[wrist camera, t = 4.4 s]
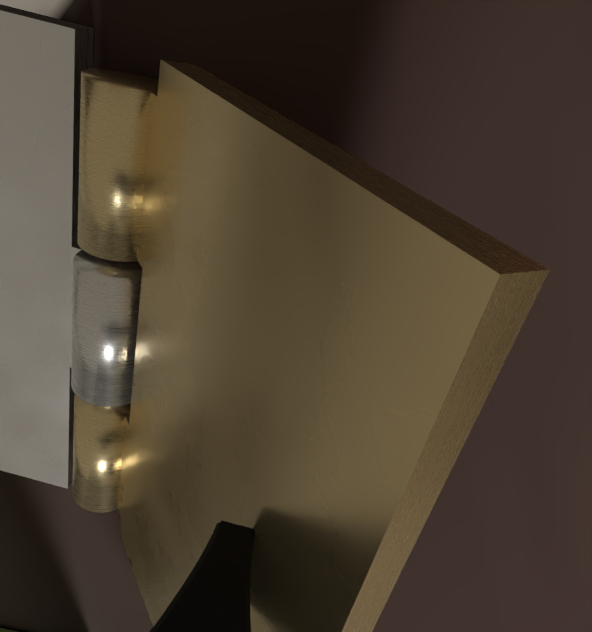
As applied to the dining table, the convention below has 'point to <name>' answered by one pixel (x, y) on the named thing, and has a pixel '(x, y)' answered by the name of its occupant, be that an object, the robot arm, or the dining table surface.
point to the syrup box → (6, 630)
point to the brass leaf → (279, 346)
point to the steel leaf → (52, 257)
